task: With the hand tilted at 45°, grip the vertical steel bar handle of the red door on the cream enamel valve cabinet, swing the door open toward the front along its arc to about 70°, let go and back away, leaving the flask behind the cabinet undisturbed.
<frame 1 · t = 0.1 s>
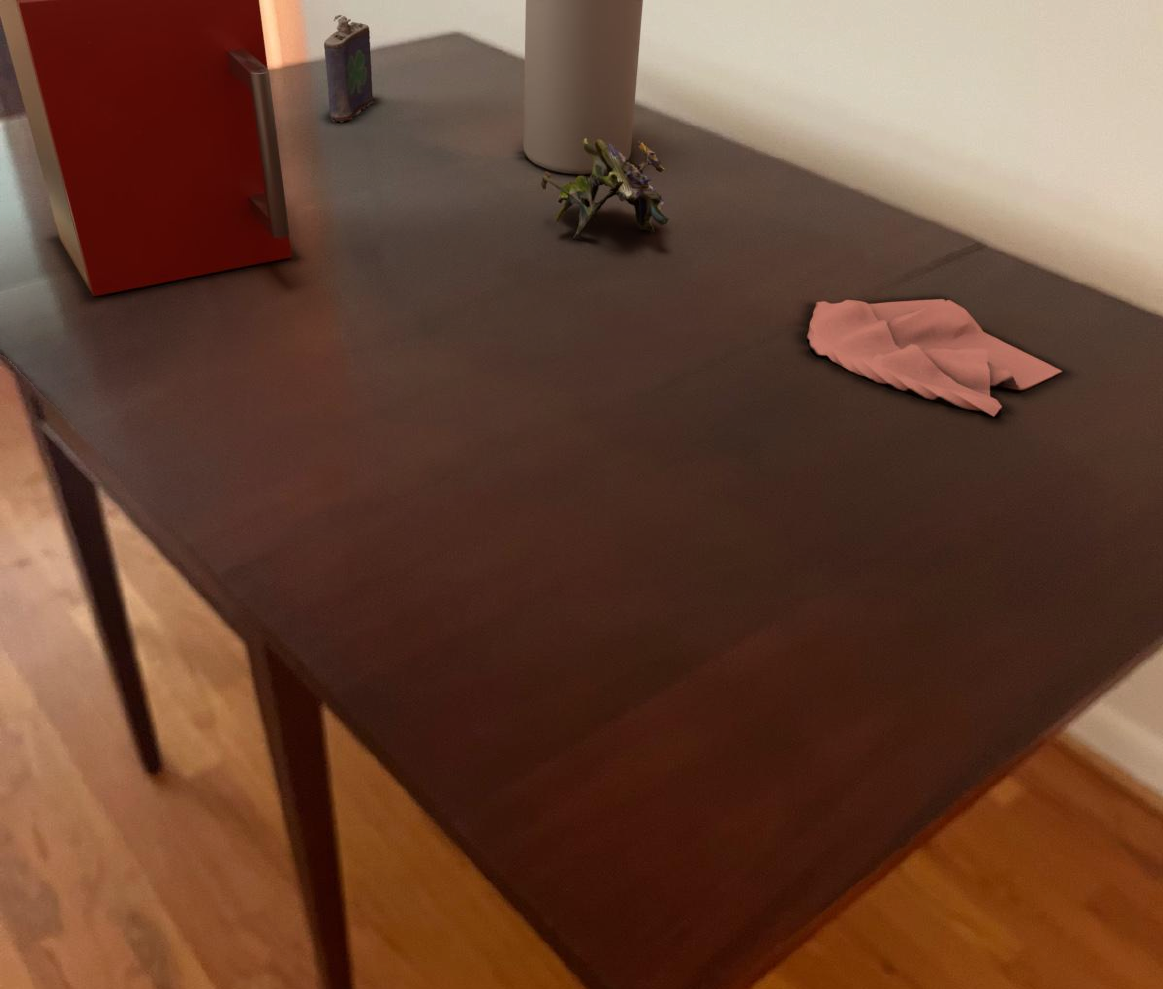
valve door: (181, 156, 95), point 12 cm above the table, hinge at 0.0°
cylinder vase: (576, 157, 132), on the table
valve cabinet: (173, 246, 109), on the table
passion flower: (605, 234, 117), on the table
cloth: (930, 357, 101), on the table
flask: (351, 112, 139), on the table
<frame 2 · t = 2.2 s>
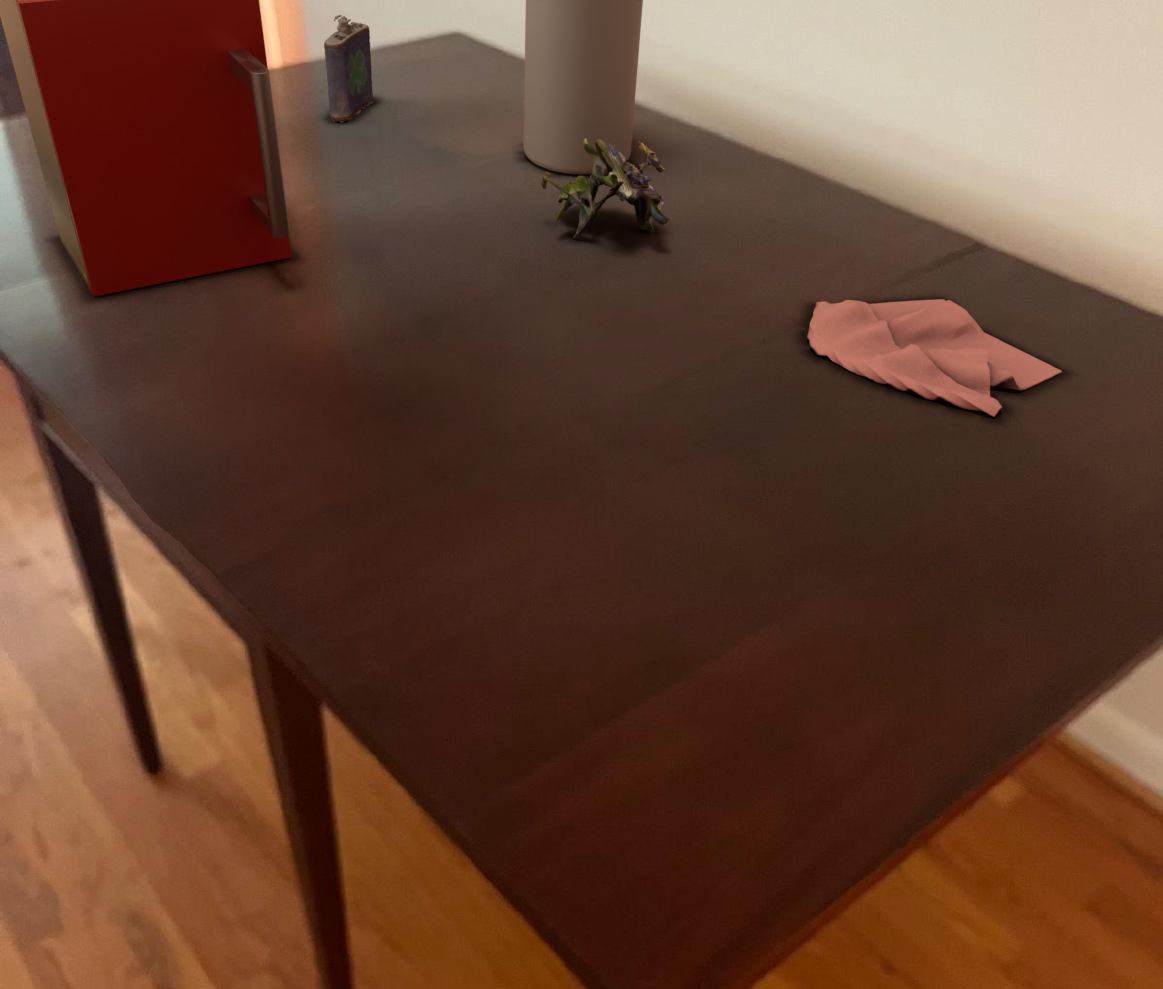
nothing on the table moved.
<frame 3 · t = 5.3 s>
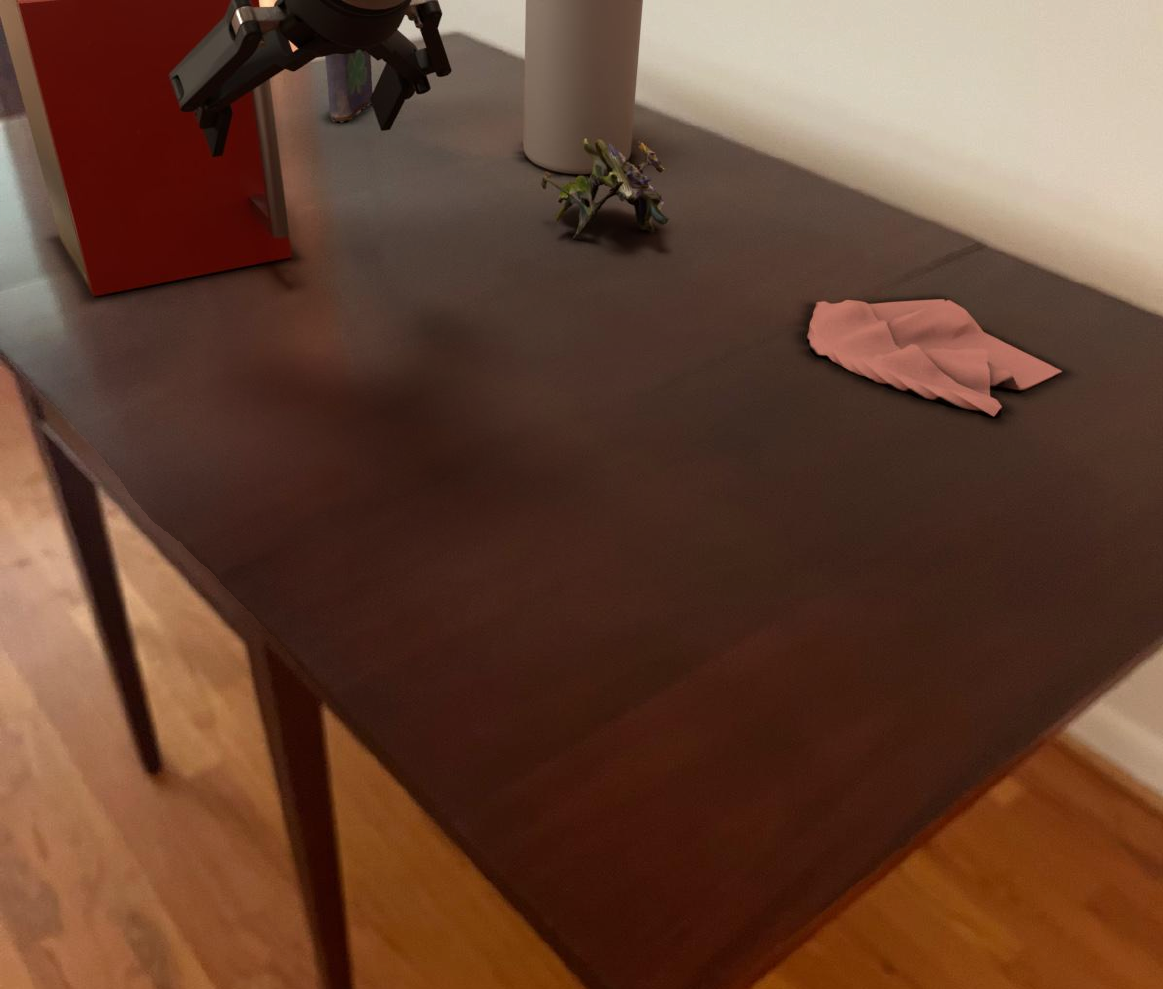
hand: (298, 126, 87), 17 cm above the table, tool tilted 45°, fingers open, 13 cm apart
nothing on the table moved.
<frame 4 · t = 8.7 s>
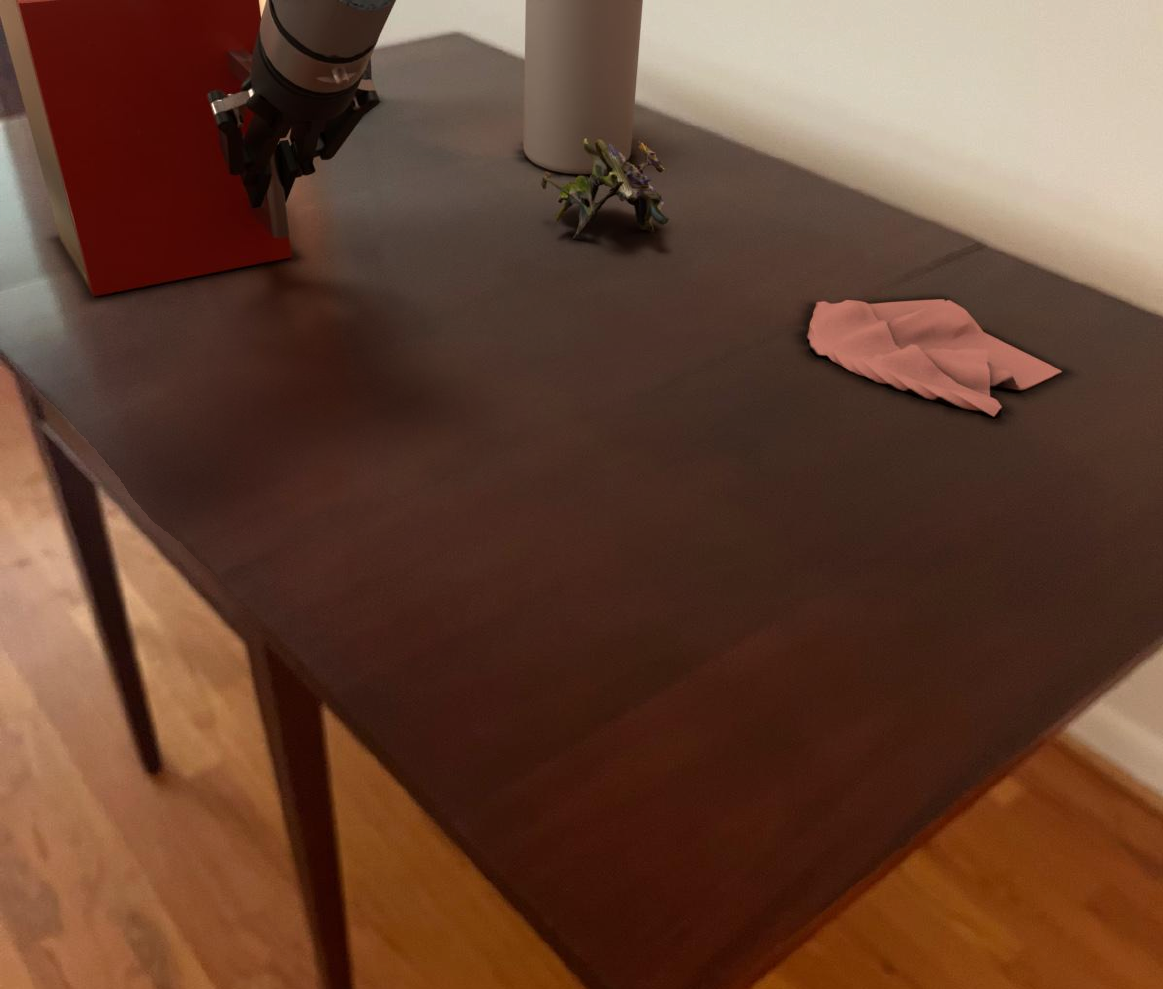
hand: (264, 190, 101), 8 cm above the table, tool tilted 45°, fingers closed on valve door, 2 cm apart
valve door: (181, 156, 95), point 12 cm above the table, hinge at 0.0°, touching gripper
everything else where it was.
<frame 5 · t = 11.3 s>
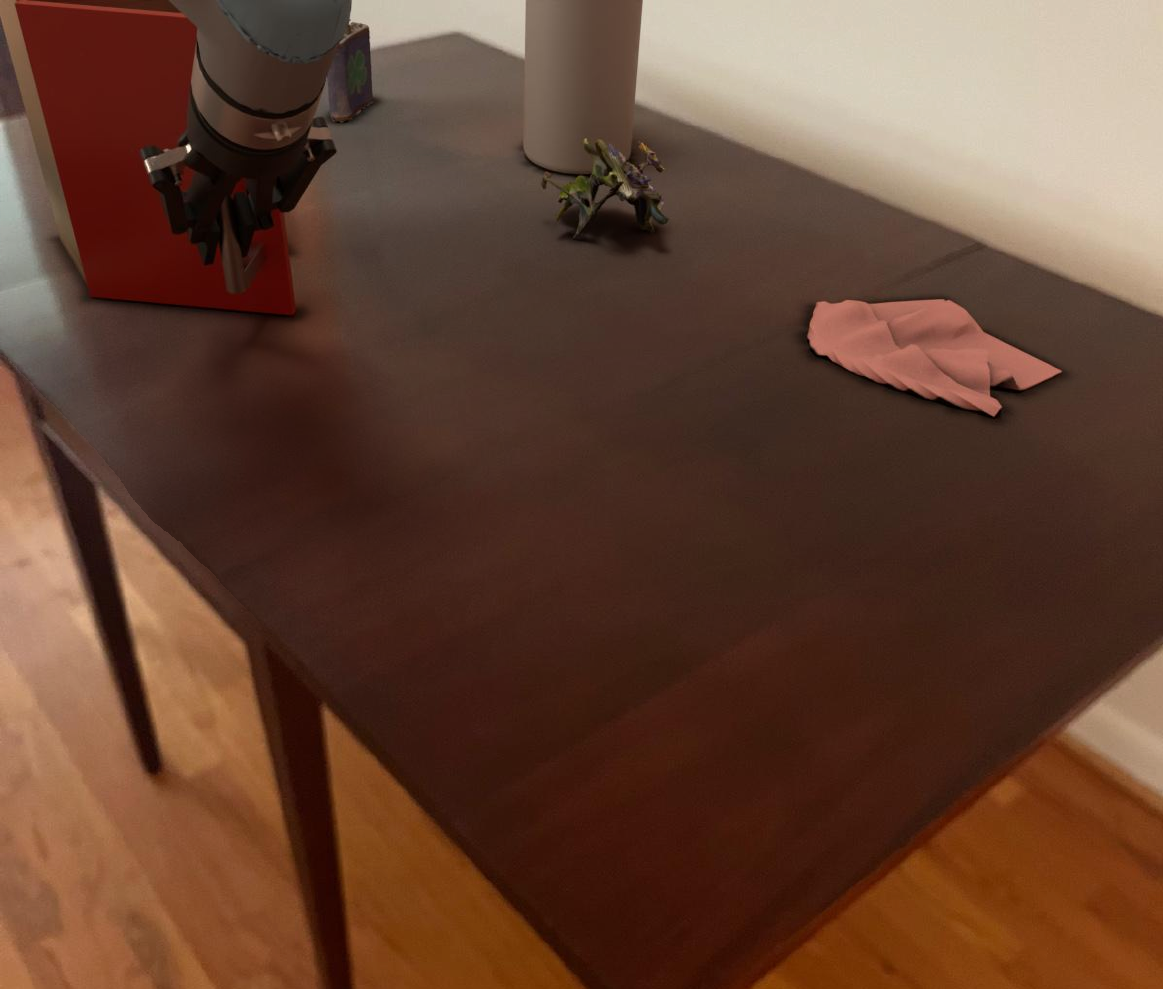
hand: (219, 245, 92), 8 cm above the table, tool tilted 45°, fingers open, 2 cm apart
valve door: (152, 185, 90), point 12 cm above the table, hinge at 36.6°, touching gripper
everything else where it was.
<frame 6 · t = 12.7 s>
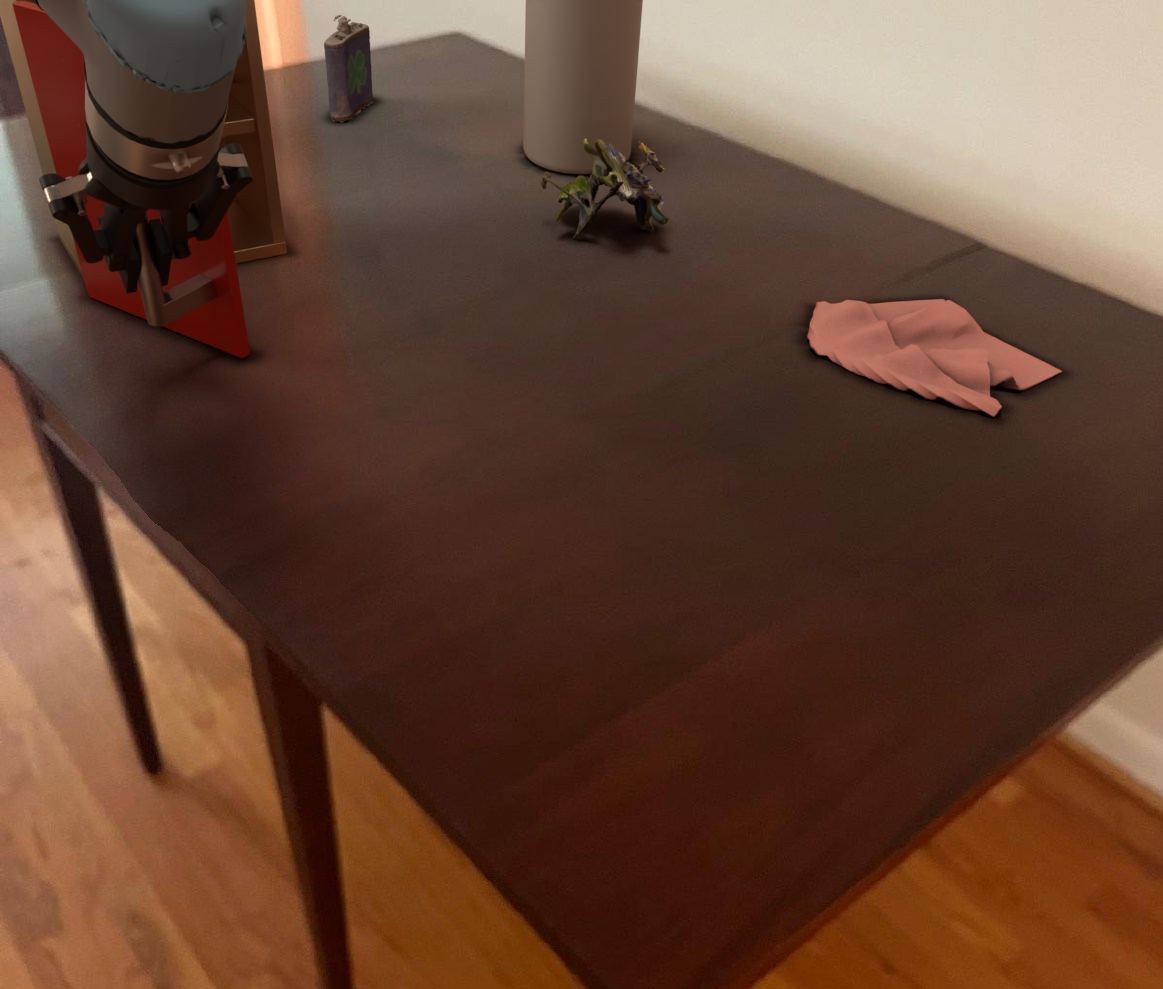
hand: (141, 272, 88), 8 cm above the table, tool tilted 45°, fingers closed on valve door, 2 cm apart
valve door: (106, 200, 88), point 12 cm above the table, hinge at 62.2°, touching gripper
everything else where it was.
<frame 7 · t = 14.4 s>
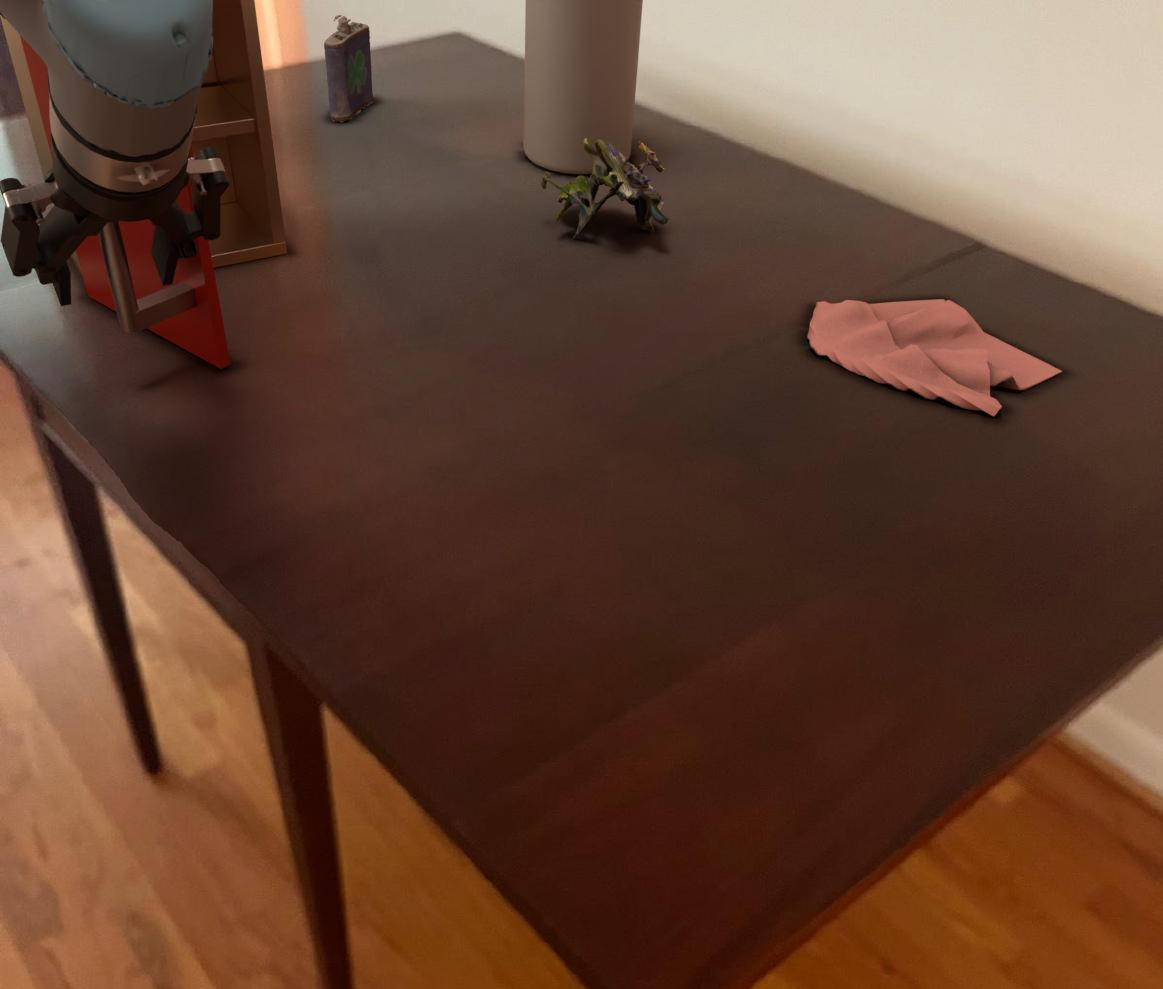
hand: (111, 278, 86), 8 cm above the table, tool tilted 45°, fingers open, 7 cm apart
valve door: (91, 204, 87), point 12 cm above the table, hinge at 69.2°
everything else where it was.
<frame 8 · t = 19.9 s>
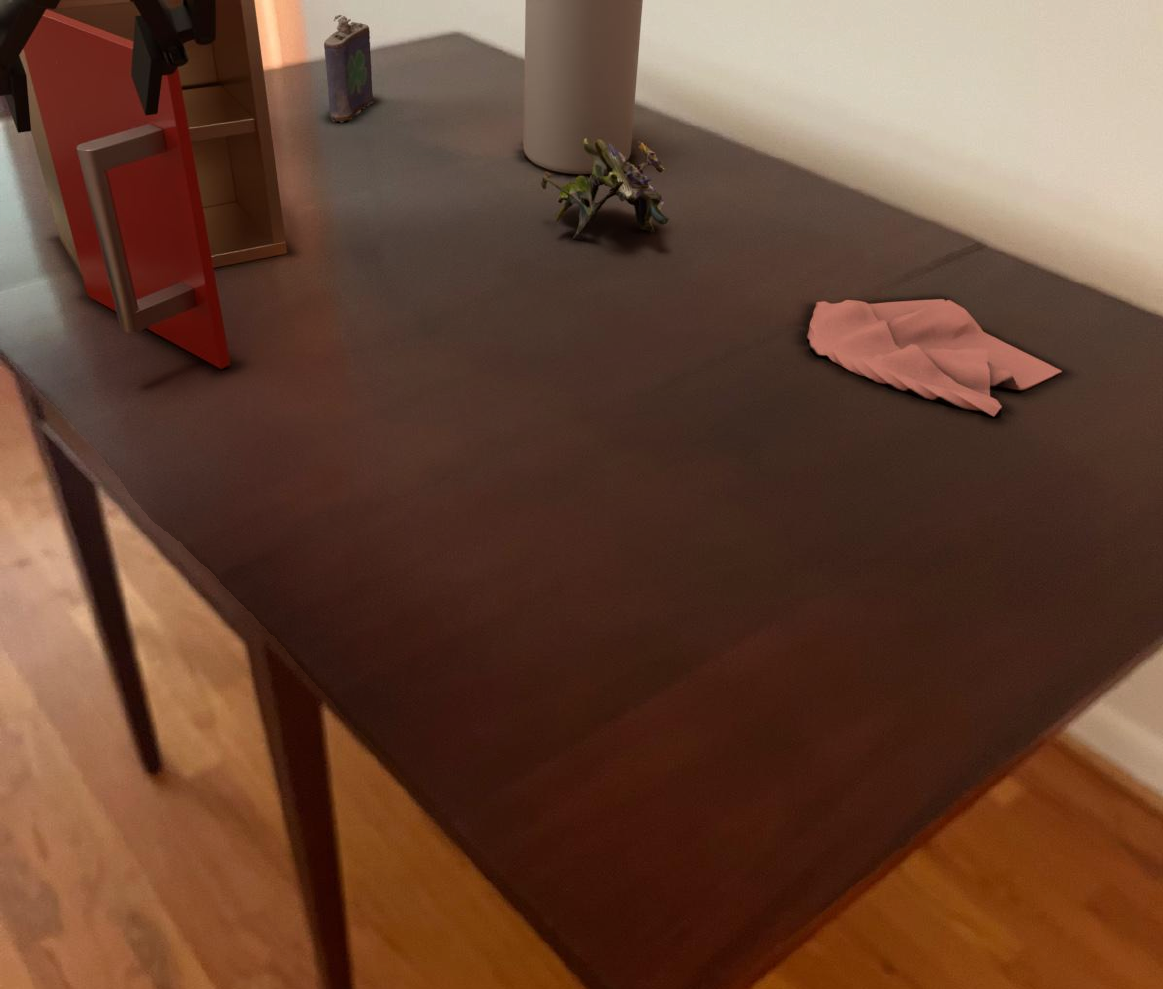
hand: (82, 102, 70), 24 cm above the table, tool tilted 45°, fingers open, 7 cm apart
nothing on the table moved.
at the end: valve door at +69° (first picture: +0°); the gripper is holding nothing; flask moved 0.2 cm from its start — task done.
